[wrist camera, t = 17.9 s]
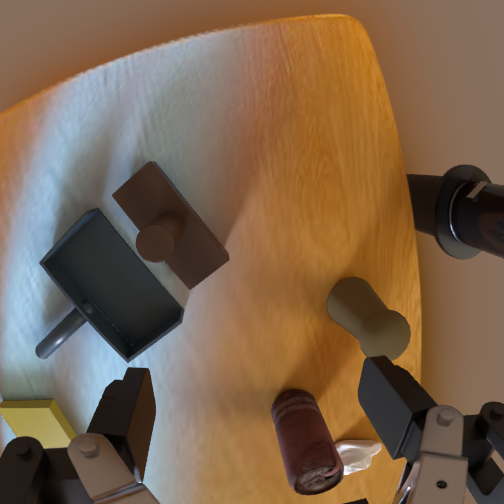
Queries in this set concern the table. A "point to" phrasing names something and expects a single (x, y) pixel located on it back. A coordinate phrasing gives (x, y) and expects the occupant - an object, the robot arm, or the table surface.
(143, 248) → the stamp
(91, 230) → the dustpan
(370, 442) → the pale pink lumpy piece
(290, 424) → the can
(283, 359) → the table surface
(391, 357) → the cork
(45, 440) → the yellow foam board
